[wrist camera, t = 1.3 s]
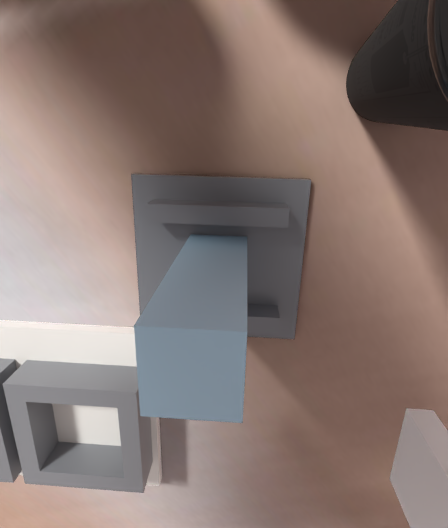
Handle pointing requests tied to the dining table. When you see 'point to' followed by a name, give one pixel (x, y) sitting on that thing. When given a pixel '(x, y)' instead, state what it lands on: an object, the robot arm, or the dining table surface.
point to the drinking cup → (404, 67)
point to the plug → (196, 334)
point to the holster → (227, 224)
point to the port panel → (74, 408)
